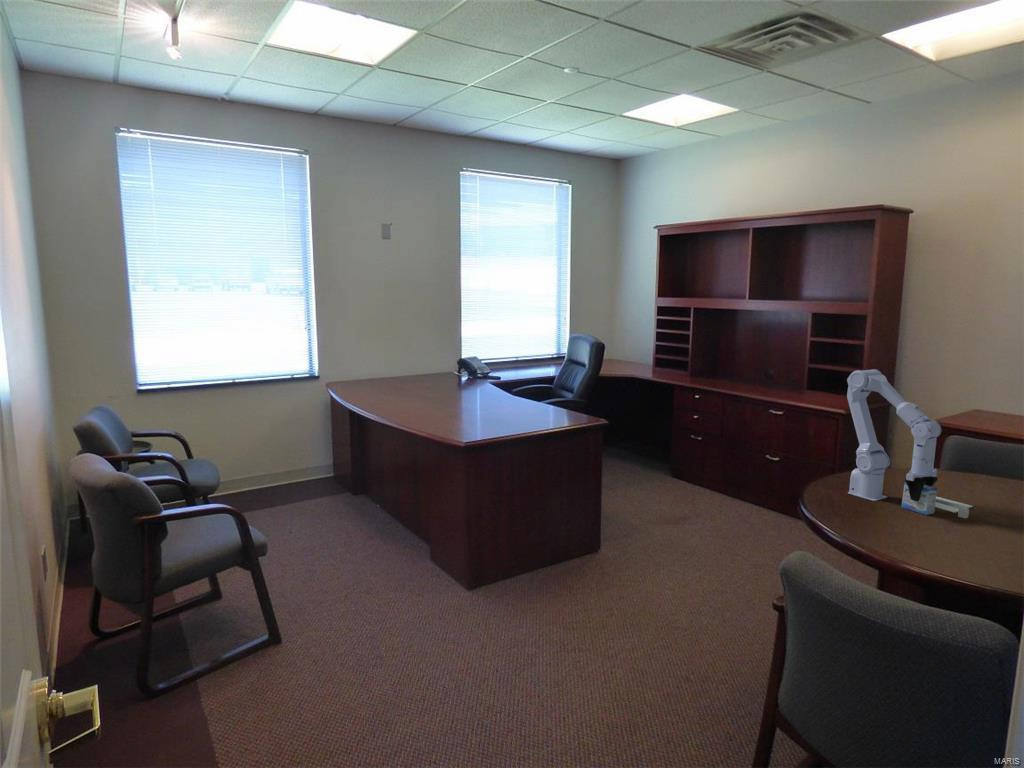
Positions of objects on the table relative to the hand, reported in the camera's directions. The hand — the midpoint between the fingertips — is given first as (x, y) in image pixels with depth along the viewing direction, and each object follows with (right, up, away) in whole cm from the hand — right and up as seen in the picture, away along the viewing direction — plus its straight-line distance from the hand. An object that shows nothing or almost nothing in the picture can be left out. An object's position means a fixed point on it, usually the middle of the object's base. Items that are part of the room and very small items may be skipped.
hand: (918, 499), depth 194 cm
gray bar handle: (+7, -4, +2) cm, 8 cm away
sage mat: (+12, -3, +7) cm, 15 cm away
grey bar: (+7, -1, +2) cm, 7 cm away
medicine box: (0, -4, +1) cm, 4 cm away
